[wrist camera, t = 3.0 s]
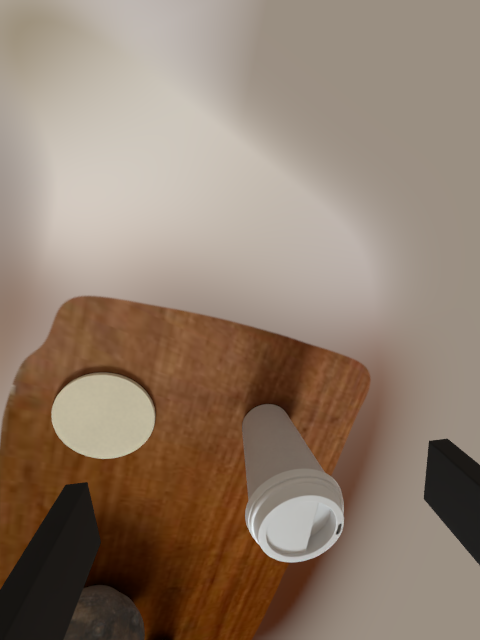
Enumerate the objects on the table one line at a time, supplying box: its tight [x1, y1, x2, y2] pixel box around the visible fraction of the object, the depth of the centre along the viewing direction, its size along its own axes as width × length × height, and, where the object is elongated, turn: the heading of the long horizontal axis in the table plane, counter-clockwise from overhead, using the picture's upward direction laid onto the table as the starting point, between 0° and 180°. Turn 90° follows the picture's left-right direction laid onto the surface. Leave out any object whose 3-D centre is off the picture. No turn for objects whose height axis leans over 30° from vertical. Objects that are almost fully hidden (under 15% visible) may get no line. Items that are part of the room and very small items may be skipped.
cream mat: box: [52, 372, 155, 459], centre depth 37 cm, size 12×12×1 cm
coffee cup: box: [242, 404, 344, 562], centre depth 34 cm, size 10×10×15 cm
